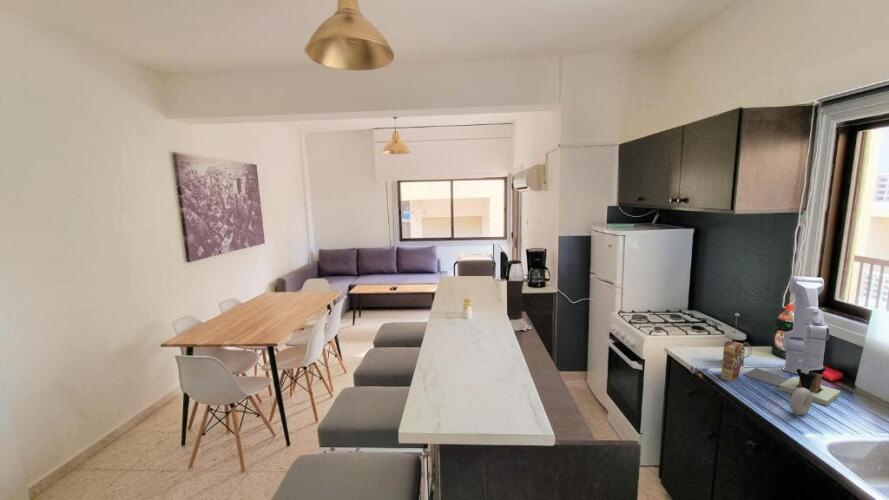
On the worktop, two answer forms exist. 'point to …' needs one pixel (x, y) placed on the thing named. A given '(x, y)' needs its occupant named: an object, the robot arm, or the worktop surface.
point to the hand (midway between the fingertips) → (809, 385)
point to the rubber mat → (766, 377)
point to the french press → (737, 337)
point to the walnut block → (814, 383)
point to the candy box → (731, 361)
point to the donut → (801, 401)
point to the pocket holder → (822, 397)
